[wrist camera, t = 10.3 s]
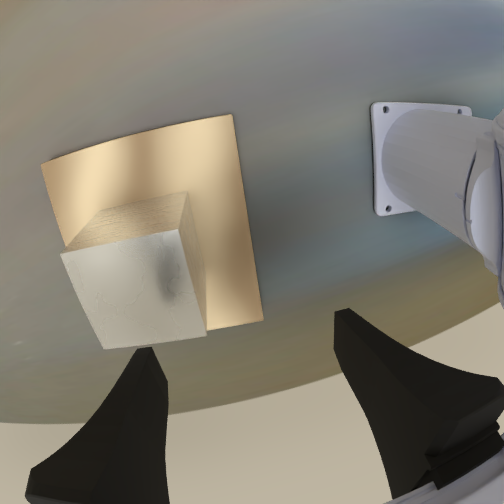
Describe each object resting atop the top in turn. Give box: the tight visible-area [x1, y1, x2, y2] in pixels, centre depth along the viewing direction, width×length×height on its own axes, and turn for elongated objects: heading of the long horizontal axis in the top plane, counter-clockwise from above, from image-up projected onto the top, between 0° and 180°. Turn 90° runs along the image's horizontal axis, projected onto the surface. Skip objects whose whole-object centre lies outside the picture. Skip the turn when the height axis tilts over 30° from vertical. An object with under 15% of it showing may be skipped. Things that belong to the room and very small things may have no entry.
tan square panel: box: [41, 114, 264, 330], centre depth 18 cm, size 12×14×6 cm
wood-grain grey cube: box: [60, 191, 207, 349], centre depth 16 cm, size 6×6×6 cm
